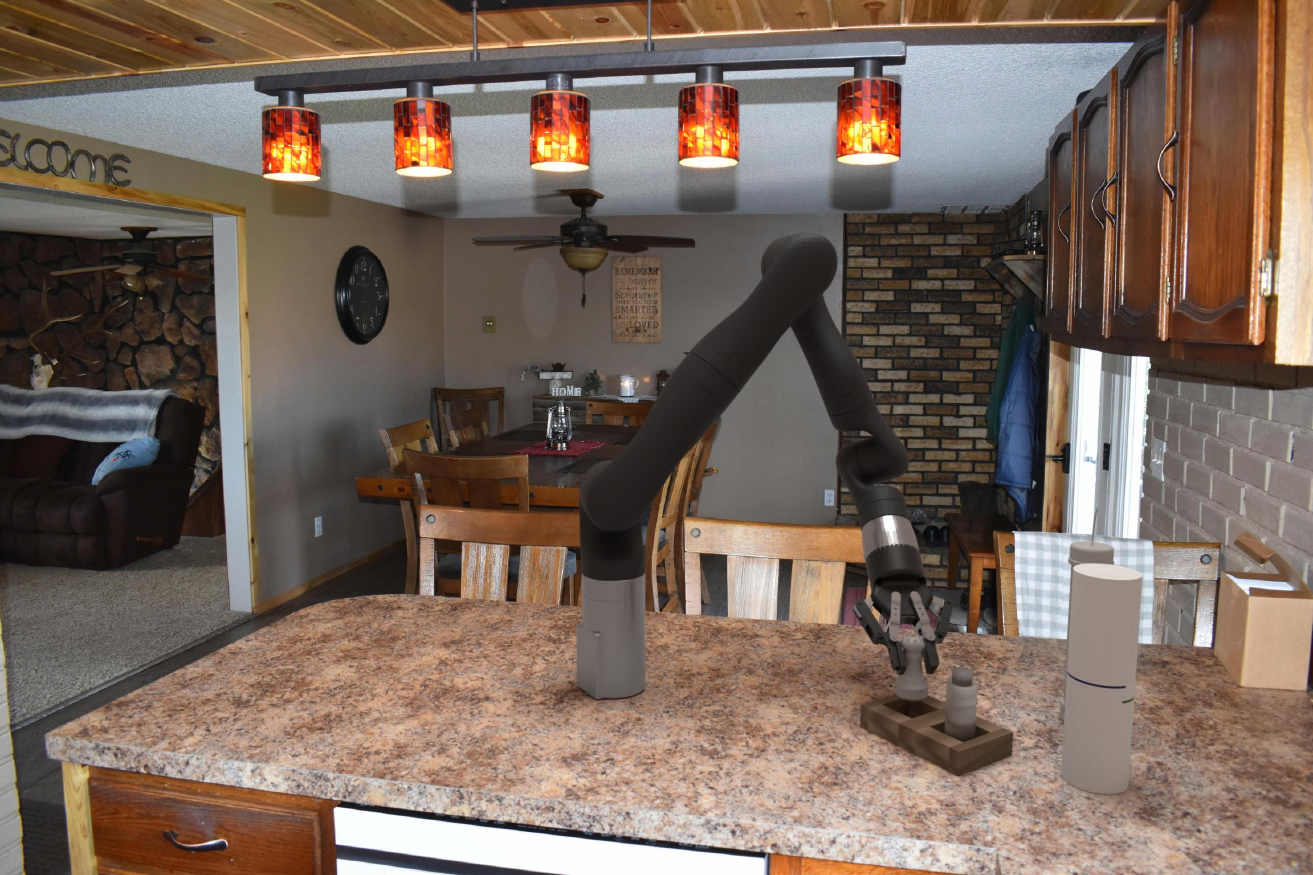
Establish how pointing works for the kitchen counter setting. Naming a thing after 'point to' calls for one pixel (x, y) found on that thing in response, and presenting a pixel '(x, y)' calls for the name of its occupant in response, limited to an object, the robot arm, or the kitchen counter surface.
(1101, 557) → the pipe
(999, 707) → the kitchen counter surface
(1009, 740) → the holder
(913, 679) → the rook chess piece
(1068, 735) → the cylindrical container
